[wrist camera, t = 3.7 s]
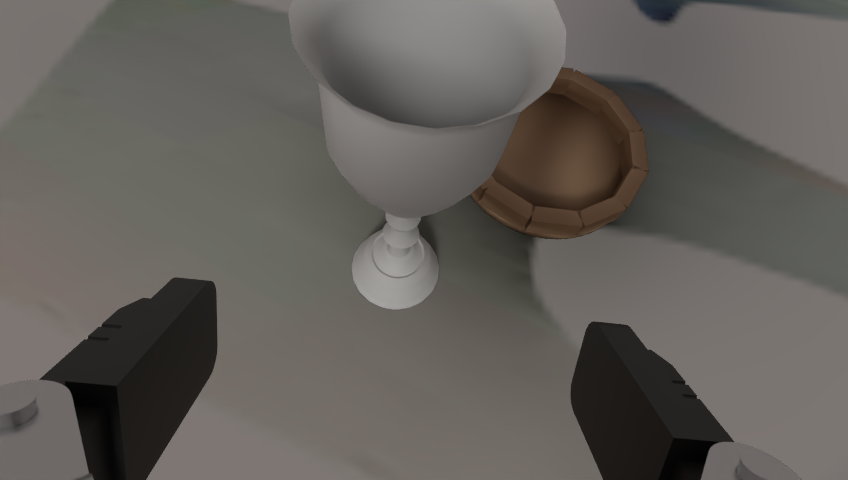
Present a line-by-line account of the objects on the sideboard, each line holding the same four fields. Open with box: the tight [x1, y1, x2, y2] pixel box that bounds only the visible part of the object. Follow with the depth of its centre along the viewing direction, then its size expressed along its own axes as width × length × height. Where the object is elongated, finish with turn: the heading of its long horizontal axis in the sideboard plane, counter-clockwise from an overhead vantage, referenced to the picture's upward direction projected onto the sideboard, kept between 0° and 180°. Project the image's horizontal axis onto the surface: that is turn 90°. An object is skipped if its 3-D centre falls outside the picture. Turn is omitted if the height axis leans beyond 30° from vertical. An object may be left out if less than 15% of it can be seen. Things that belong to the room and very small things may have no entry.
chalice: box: [288, 0, 566, 310], centre depth 21 cm, size 7×7×18 cm
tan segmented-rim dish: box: [470, 67, 649, 239], centre depth 33 cm, size 12×12×2 cm
